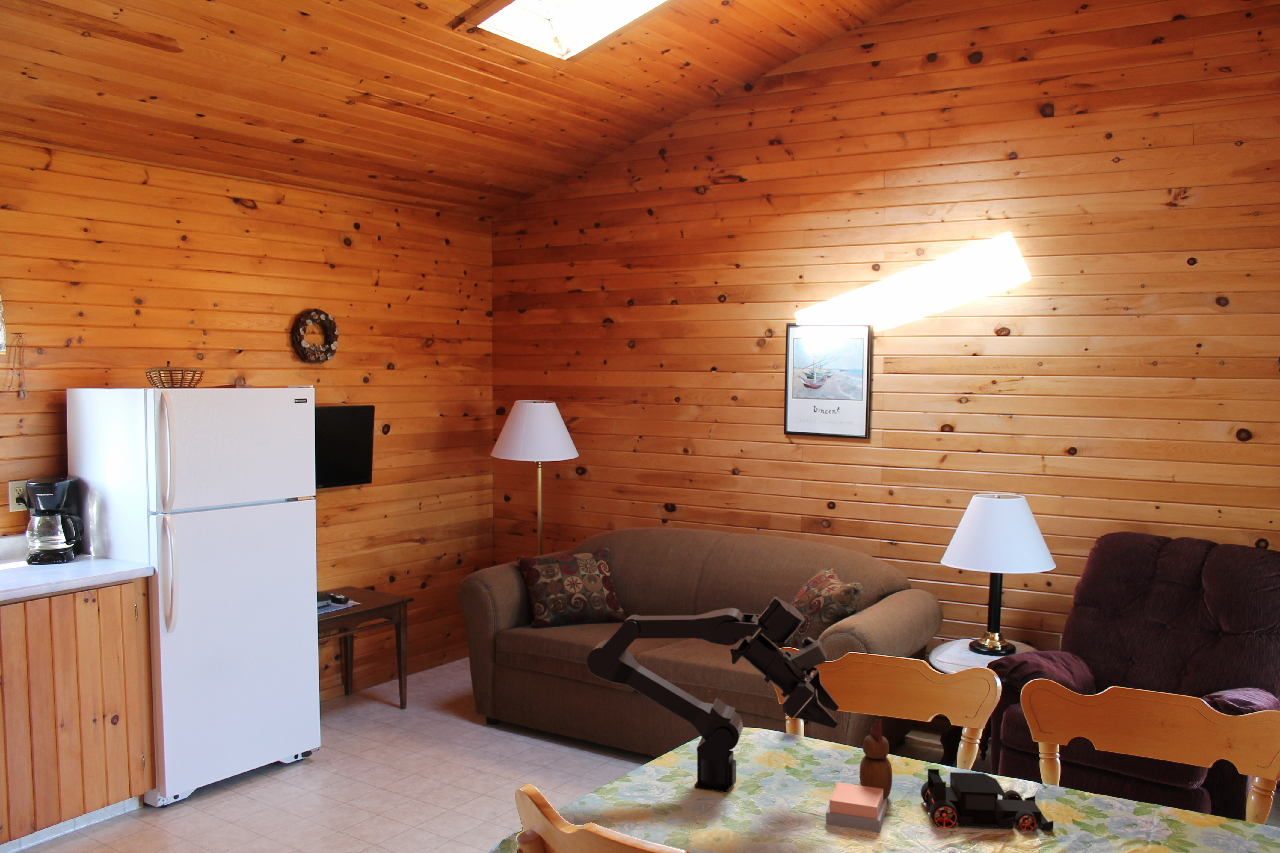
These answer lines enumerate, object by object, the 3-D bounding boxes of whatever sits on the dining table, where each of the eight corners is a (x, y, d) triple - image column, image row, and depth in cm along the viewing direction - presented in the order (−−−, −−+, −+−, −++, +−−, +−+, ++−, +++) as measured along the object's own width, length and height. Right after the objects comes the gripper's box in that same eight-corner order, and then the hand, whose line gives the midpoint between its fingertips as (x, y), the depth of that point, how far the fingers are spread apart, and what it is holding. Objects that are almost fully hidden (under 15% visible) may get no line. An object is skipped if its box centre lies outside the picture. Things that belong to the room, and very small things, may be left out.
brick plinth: (826, 823, 165) (826, 800, 165) (835, 802, 174) (835, 780, 173) (879, 832, 162) (879, 809, 162) (886, 810, 170) (886, 788, 170)
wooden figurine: (893, 806, 172) (893, 723, 171) (859, 803, 173) (860, 721, 172) (891, 790, 179) (891, 711, 178) (859, 788, 180) (859, 709, 179)
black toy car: (1053, 834, 162) (1054, 792, 161) (931, 829, 164) (931, 787, 164) (1034, 807, 172) (1034, 767, 172) (920, 803, 174) (920, 763, 174)
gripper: (794, 641, 168) (865, 701, 166) (800, 616, 186) (865, 670, 184) (754, 688, 170) (824, 748, 168) (764, 659, 188) (827, 713, 186)
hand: (836, 717), depth 176 cm, fingers open, 9 cm apart
